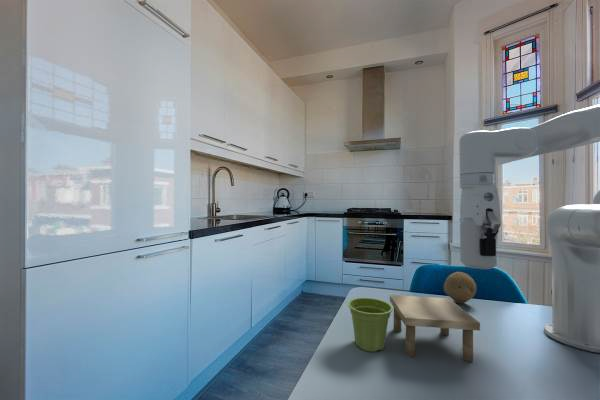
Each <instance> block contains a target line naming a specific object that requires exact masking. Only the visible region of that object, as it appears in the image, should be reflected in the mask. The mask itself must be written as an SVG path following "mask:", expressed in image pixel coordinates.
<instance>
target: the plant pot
mask: <svg viewBox="0 0 600 400" xmlns="http://www.w3.org/2000/svg"><path fill="white" fill-rule="evenodd" d="M347 306H348V308H349V310H350V311H349V312H350V314H351V317H352V318H351V319H352V326H353V334H354V335H353V336H354V341H355V345H357V346H358V347H359V349H361V350H363V351H367V352H371V353H372V352H376V351H379V350H380V351H382V350H384V348H385V344H386V342H385V341H386V336H387V329H388V324H389V319H390V317H391V313H392V312H393V311H394V307H393V305H392V304H391V303H389V302H387V301H385V300H382V299H378V298H373V297H372V298H371V297H357V298H353V299H351V300H349V301H348V302H347Z"/></svg>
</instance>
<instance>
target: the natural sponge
mask: <svg viewBox="0 0 600 400" xmlns="http://www.w3.org/2000/svg"><path fill="white" fill-rule="evenodd" d="M443 291H444V294H446V295H447V296H448V297H449V298H451V299H452V301H453V302H455V303H458V304H464V303H467V302H468V301H470V300H471V299H473V298H474V297H475V295H476V293H477V284H476V282H475V280H474V279H473V278H472V277H471V276H470V275H469V274H468V273H465V272H462V271H455V272H453V273H451V274H449V275H448V276H447V277H446V279H445V282H444V283H443Z"/></svg>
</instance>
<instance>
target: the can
mask: <svg viewBox="0 0 600 400" xmlns="http://www.w3.org/2000/svg"><path fill="white" fill-rule="evenodd" d="M463 220H464V221H463V222H462V223H459V245H460V246H459V251H460V252H459V254H460V255H459V256H460V257H459V259H460V261H459V262H461V263H462V264H463V265H464V266H465V267H467V268H471V269H478V270H491V269H493V268H495V267H496V266H497V259H498V258H497V254H498V253H497V252H498V251H497V250H496V256H481V255H480V238H481V239H482V237H481V234H480V228H478V227H477V226H476V225H475V224H474V222H473V219H465V218H463ZM483 225H490V224H489V223H483ZM486 231H487V229H485V232H486Z"/></svg>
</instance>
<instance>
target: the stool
mask: <svg viewBox="0 0 600 400" xmlns="http://www.w3.org/2000/svg"><path fill="white" fill-rule="evenodd" d="M389 302H390V305H391V306H392V307H393V324H392V325H393V329H392V330H393V331H394V332H397V333H401V332H402V323H403V324H404V326H405V356H407V357H409V358H416V327H420V328H421V327H423V328H424V327H425V328H437V329H439V328H440V334H441V335H442V336H449V335H450V330H452V329H453V330H462V347H461V349H462V351H461V352H462V360H463V361H465V362H468V363H473V362H474V331H481V329H480V328H481V322H480V321H479V320H477V319H476V318H475V317H473V316H472V315H470V314H469V313H468V312H467V311H466V310H465V309H464V308H462V307H460V305H458V304H456V302H455V301H454V300H451V299H450V297H448V298H447V297H431V296H430V297H429V296H416V295H415V296H414V295H413V296H412V295H410V296H409V295H393V294H390V295H389Z"/></svg>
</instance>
